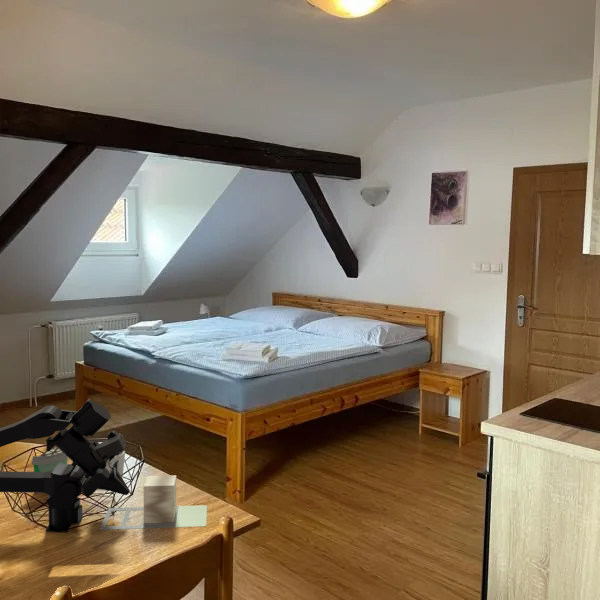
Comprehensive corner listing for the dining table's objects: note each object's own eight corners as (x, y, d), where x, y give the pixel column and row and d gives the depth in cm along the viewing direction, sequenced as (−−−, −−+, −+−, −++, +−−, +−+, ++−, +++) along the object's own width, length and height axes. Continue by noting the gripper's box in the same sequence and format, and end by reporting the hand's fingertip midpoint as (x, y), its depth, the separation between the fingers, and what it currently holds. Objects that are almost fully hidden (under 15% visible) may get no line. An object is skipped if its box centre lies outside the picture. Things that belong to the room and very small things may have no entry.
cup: (86, 476, 172) (85, 448, 171) (112, 469, 178) (112, 442, 177) (103, 488, 164) (102, 459, 163) (130, 481, 170) (130, 453, 169)
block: (143, 523, 142) (143, 486, 141) (146, 511, 148) (146, 476, 147) (174, 522, 143) (174, 485, 142) (176, 510, 149) (176, 475, 148)
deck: (99, 536, 139) (99, 529, 139) (108, 514, 150) (108, 508, 150) (205, 532, 142) (206, 526, 142) (207, 510, 153) (207, 505, 153)
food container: (53, 496, 159) (52, 459, 158) (32, 493, 160) (31, 456, 159) (79, 477, 171) (79, 443, 170) (59, 475, 172) (59, 441, 171)
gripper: (96, 438, 132) (148, 485, 135) (111, 413, 151) (157, 455, 153) (59, 474, 132) (111, 520, 135) (79, 444, 151) (125, 486, 153)
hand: (128, 493), depth 144 cm, fingers closed
